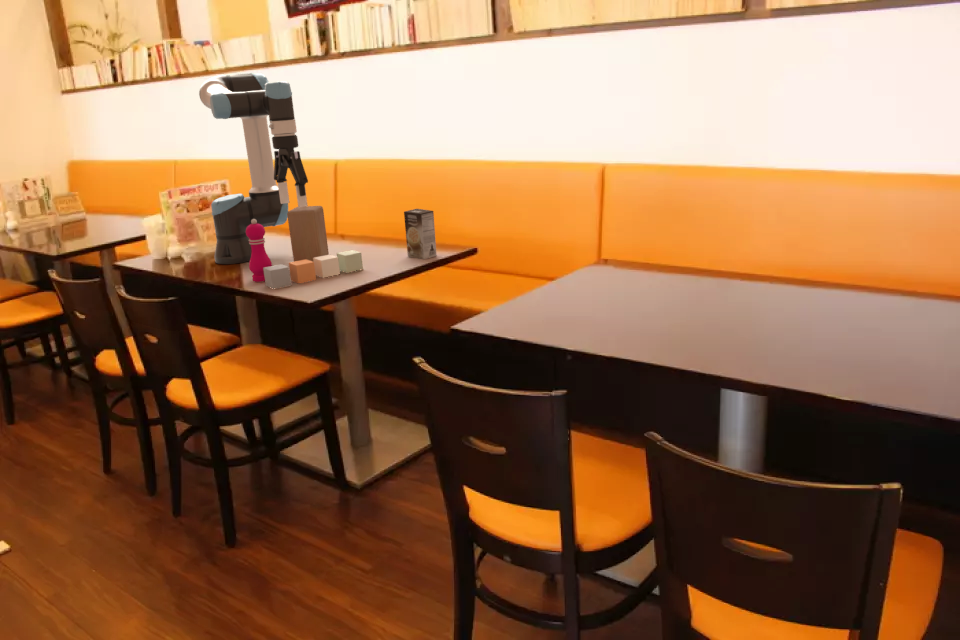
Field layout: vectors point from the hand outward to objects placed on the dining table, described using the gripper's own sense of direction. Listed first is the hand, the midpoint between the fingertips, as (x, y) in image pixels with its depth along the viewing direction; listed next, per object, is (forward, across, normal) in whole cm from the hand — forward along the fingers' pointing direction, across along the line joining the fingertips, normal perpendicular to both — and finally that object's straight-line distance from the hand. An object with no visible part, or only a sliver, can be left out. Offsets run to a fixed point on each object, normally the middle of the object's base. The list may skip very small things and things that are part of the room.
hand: (293, 204), depth 239 cm
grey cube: (+24, -1, -8) cm, 26 cm away
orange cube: (+24, -1, 0) cm, 24 cm away
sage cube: (+24, -1, +17) cm, 30 cm away
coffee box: (+24, +2, +44) cm, 50 cm away
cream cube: (+24, -1, +8) cm, 26 cm away
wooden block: (+24, -18, +11) cm, 32 cm away
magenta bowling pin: (+24, -13, -9) cm, 29 cm away
